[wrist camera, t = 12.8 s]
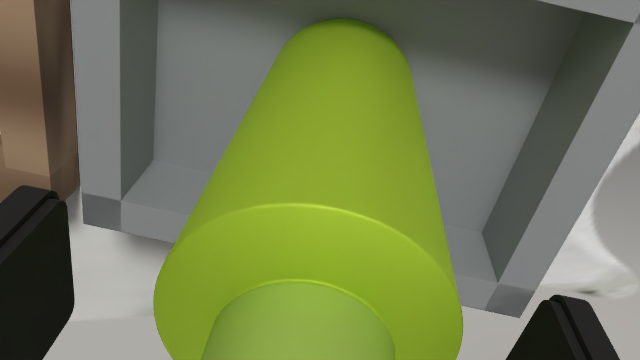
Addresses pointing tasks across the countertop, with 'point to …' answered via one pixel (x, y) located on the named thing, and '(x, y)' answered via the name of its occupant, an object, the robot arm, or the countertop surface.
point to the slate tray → (432, 97)
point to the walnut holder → (37, 98)
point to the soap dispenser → (318, 220)
